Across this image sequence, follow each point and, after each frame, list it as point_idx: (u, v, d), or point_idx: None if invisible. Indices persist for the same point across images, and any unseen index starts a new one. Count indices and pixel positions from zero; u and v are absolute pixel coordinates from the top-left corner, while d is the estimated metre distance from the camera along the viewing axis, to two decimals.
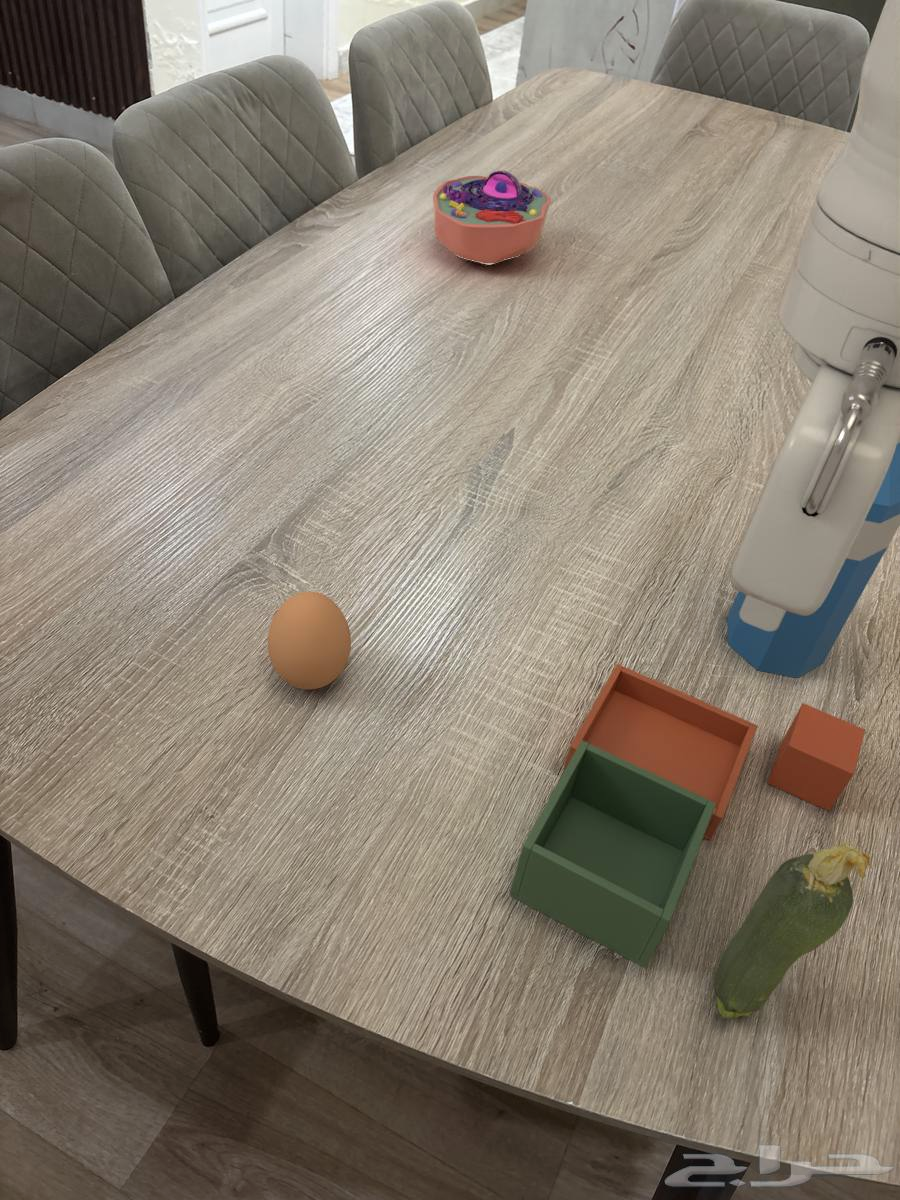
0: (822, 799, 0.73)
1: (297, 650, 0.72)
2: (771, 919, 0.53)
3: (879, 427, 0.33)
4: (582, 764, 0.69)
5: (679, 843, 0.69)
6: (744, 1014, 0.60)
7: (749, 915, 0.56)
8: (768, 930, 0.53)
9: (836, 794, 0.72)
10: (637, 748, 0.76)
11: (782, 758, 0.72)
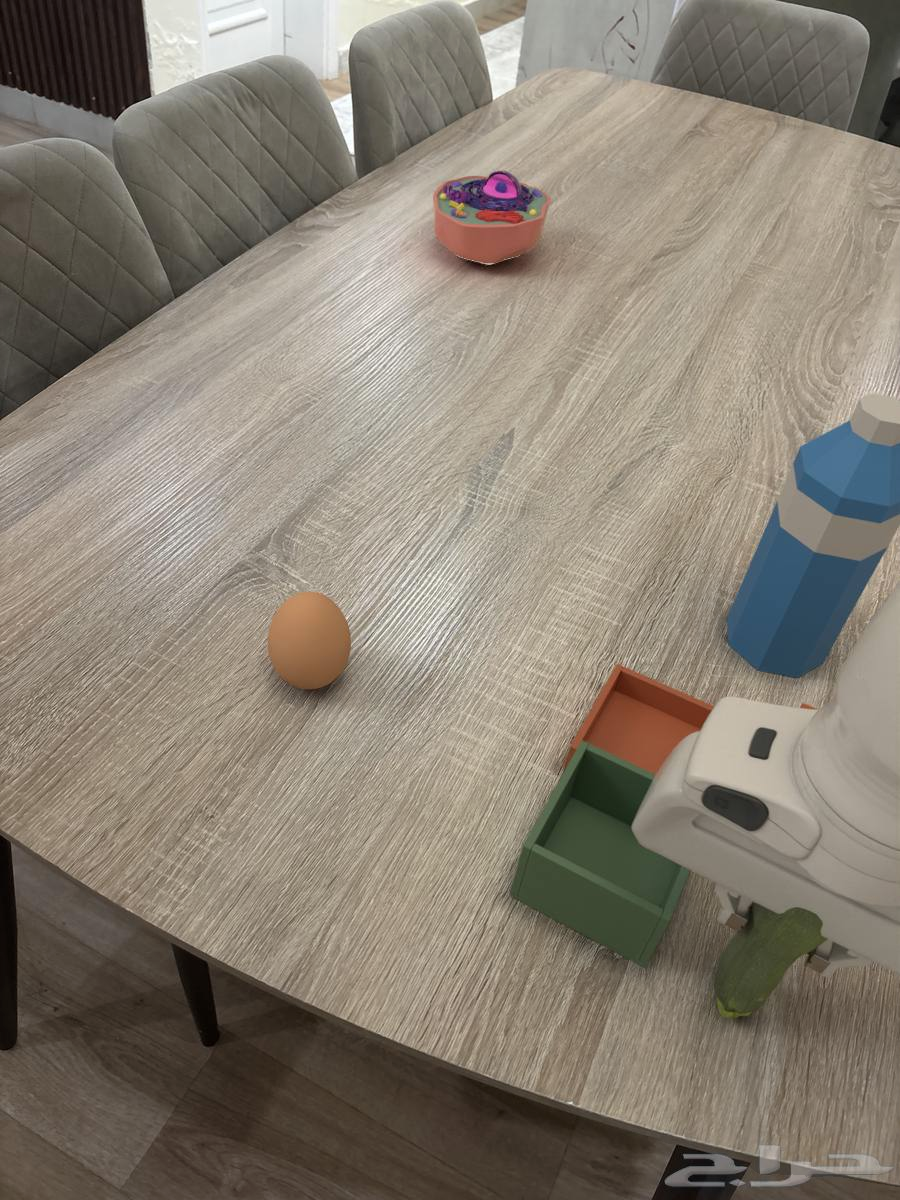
0: None
1: (297, 650, 0.72)
2: (769, 920, 0.53)
3: None
4: (582, 764, 0.69)
5: None
6: (744, 1014, 0.60)
7: None
8: (767, 930, 0.54)
9: None
10: (637, 748, 0.76)
11: None
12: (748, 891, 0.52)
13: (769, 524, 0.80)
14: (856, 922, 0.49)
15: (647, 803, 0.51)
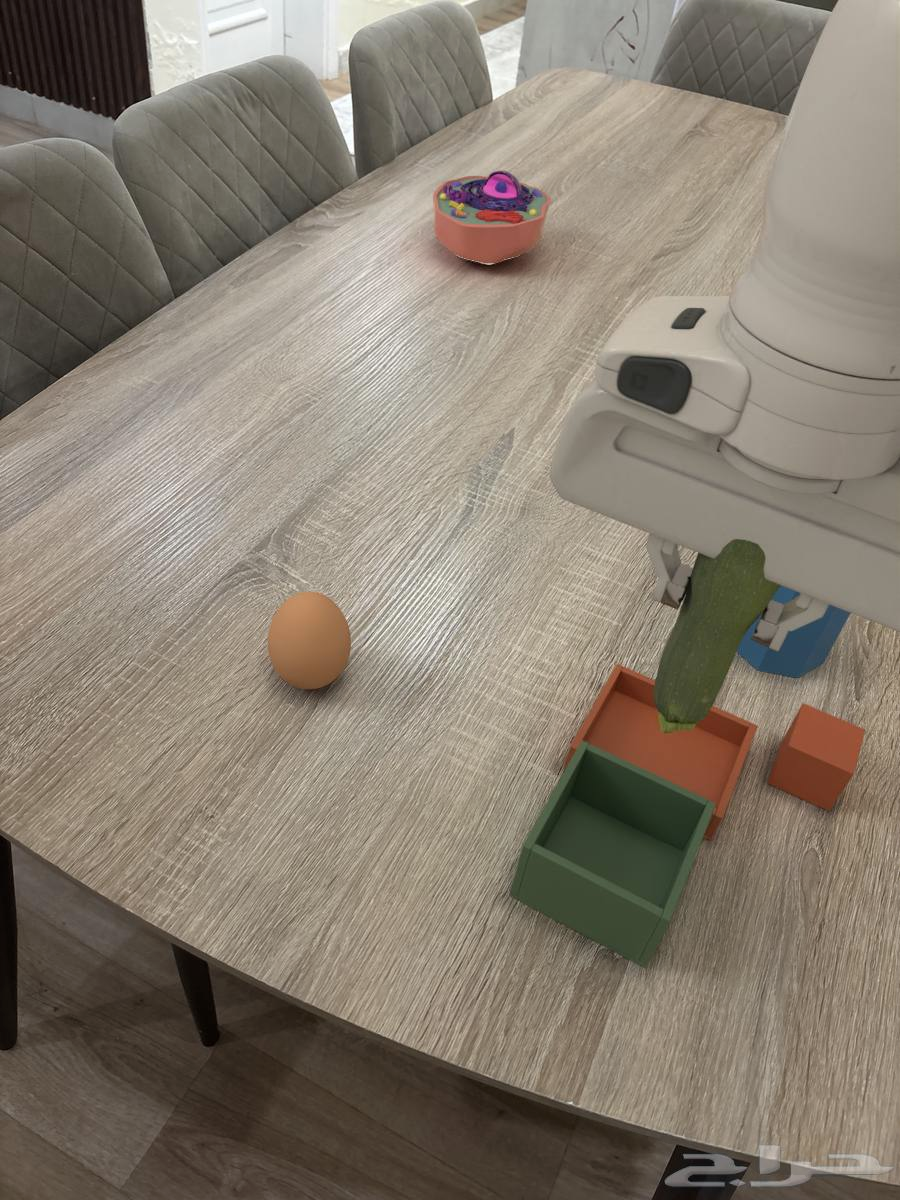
0: (822, 799, 0.73)
1: (297, 650, 0.72)
2: (706, 573, 0.46)
3: None
4: (582, 764, 0.69)
5: (679, 843, 0.69)
6: (688, 727, 0.53)
7: (687, 592, 0.49)
8: (705, 591, 0.47)
9: (836, 794, 0.72)
10: (637, 748, 0.76)
11: (782, 758, 0.72)
12: (681, 532, 0.45)
13: None
14: (803, 544, 0.42)
15: (563, 427, 0.44)
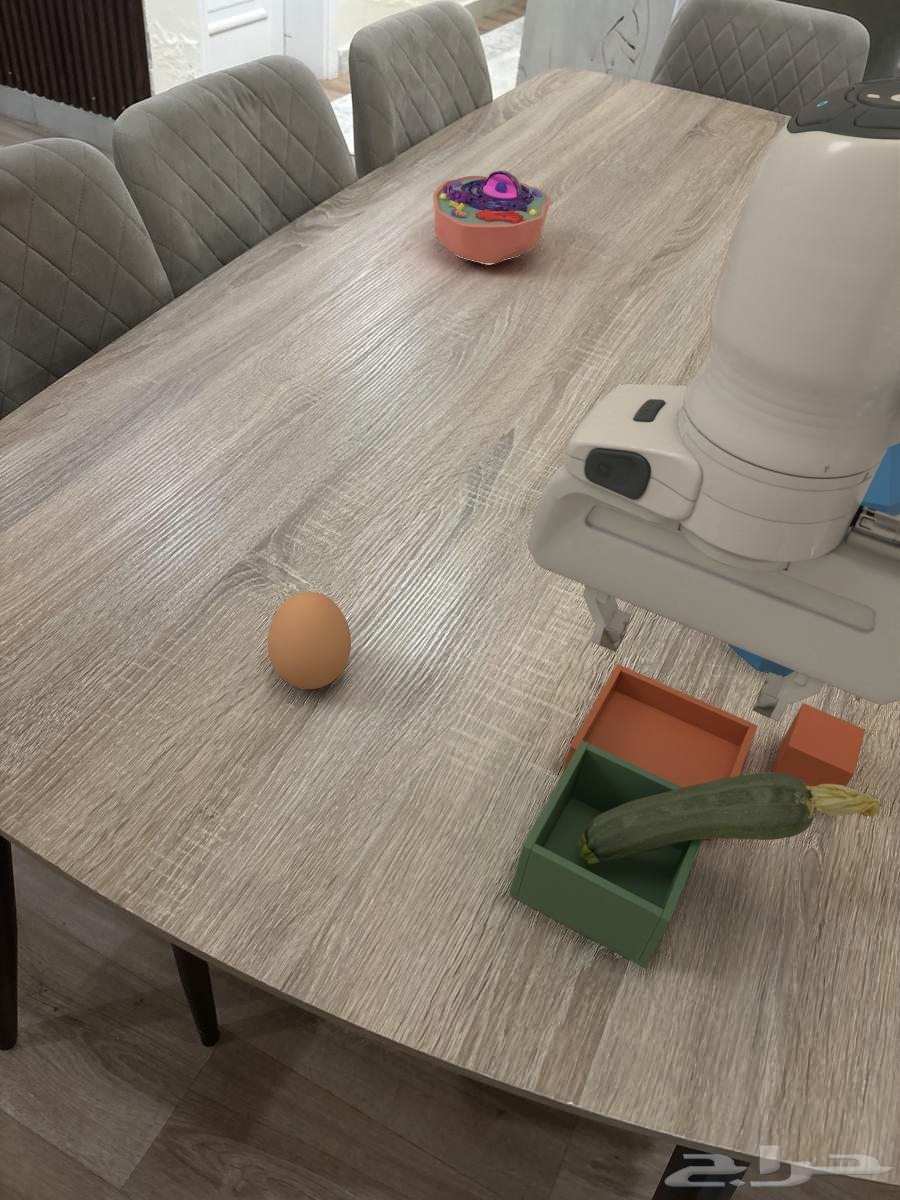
0: None
1: (297, 650, 0.72)
2: (750, 831, 0.60)
3: None
4: (582, 764, 0.69)
5: (679, 843, 0.69)
6: None
7: (698, 812, 0.61)
8: (733, 833, 0.60)
9: None
10: (637, 748, 0.76)
11: (782, 758, 0.72)
12: (649, 600, 0.48)
13: None
14: (759, 613, 0.46)
15: (538, 504, 0.48)
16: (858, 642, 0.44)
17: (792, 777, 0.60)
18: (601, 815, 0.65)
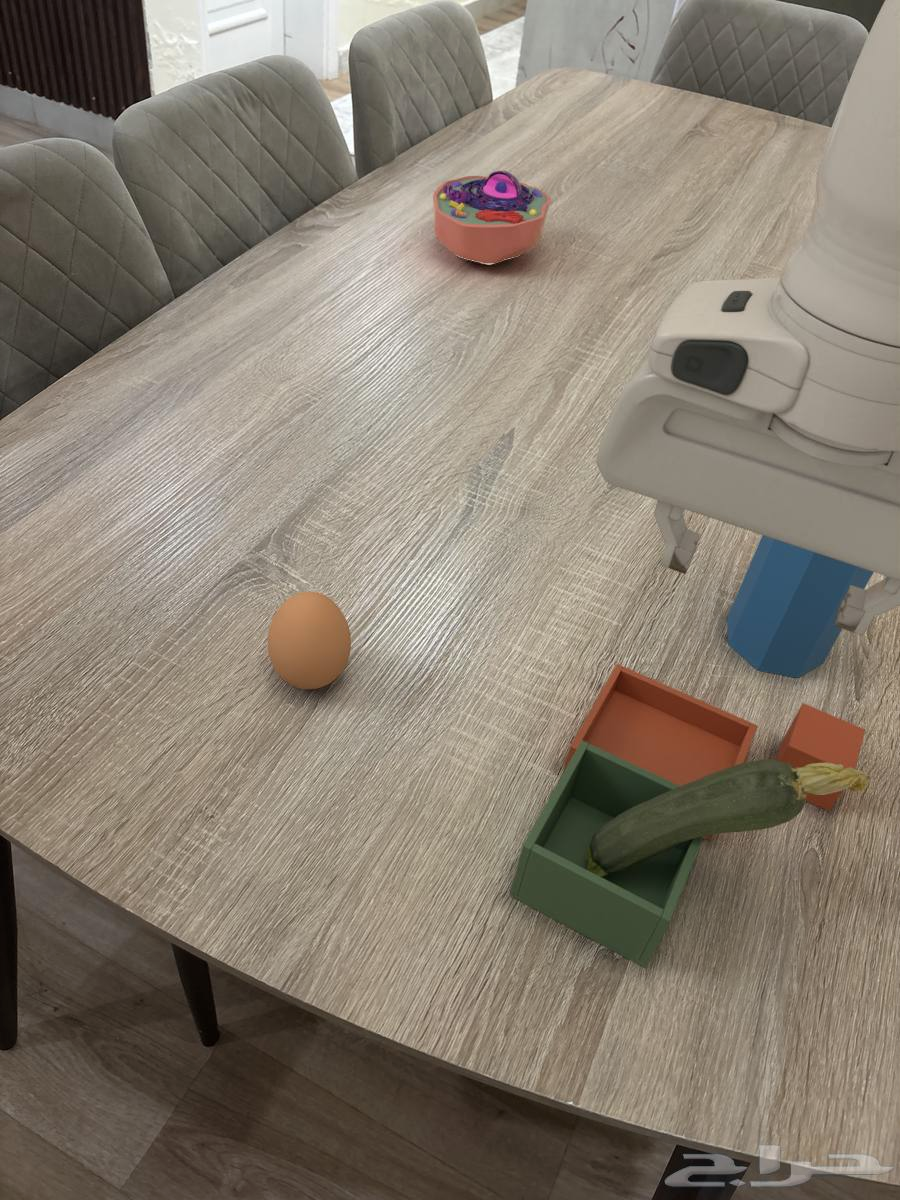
0: (822, 799, 0.73)
1: (297, 650, 0.72)
2: (742, 820, 0.60)
3: None
4: (582, 764, 0.69)
5: None
6: None
7: (689, 808, 0.61)
8: (727, 825, 0.60)
9: (836, 794, 0.72)
10: (637, 748, 0.76)
11: (782, 758, 0.72)
12: (731, 510, 0.46)
13: None
14: (853, 516, 0.43)
15: (611, 413, 0.45)
16: None
17: (777, 761, 0.60)
18: (602, 827, 0.66)
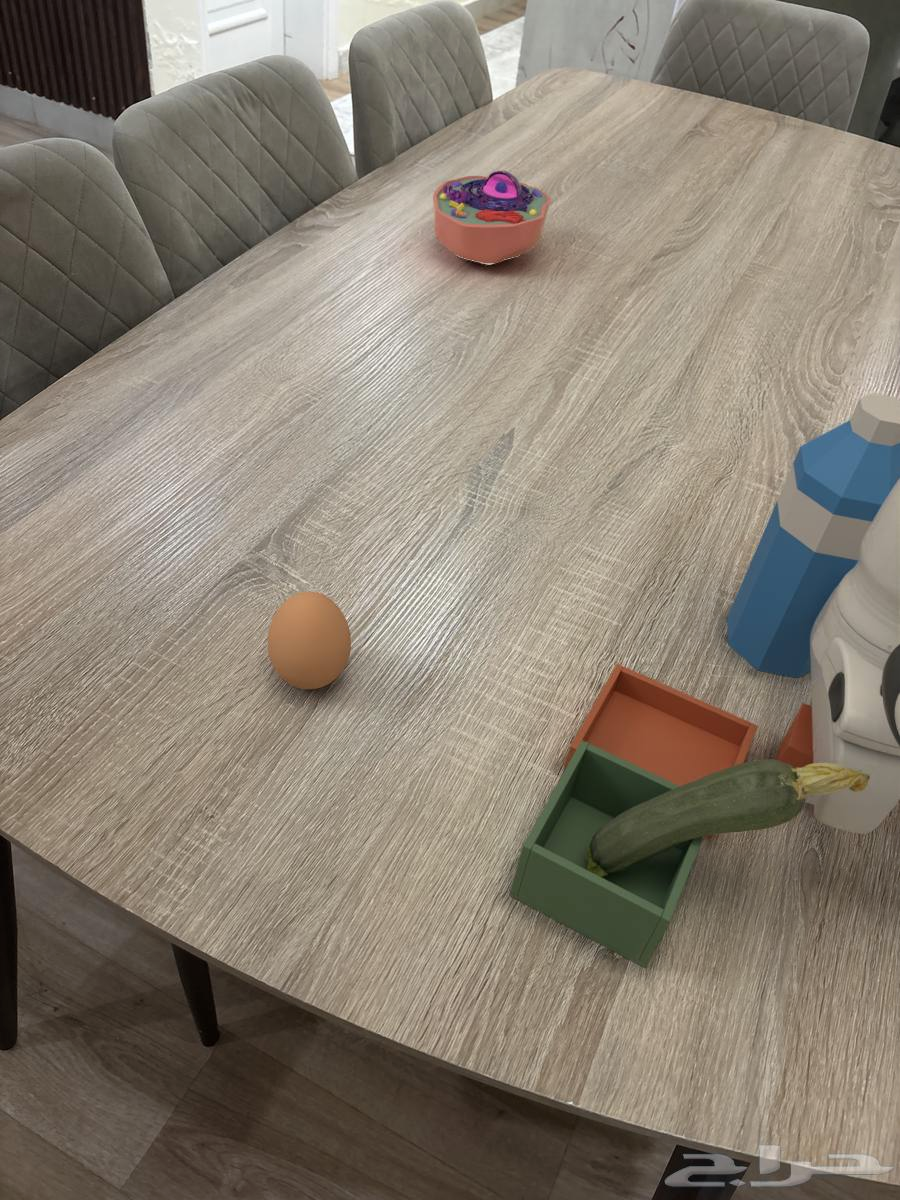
0: None
1: (297, 650, 0.72)
2: (742, 820, 0.60)
3: None
4: (582, 764, 0.69)
5: None
6: None
7: (689, 808, 0.61)
8: (727, 825, 0.60)
9: None
10: (637, 748, 0.76)
11: (782, 758, 0.73)
12: None
13: (769, 524, 0.80)
14: None
15: (893, 804, 0.61)
16: None
17: (777, 761, 0.60)
18: (602, 827, 0.66)
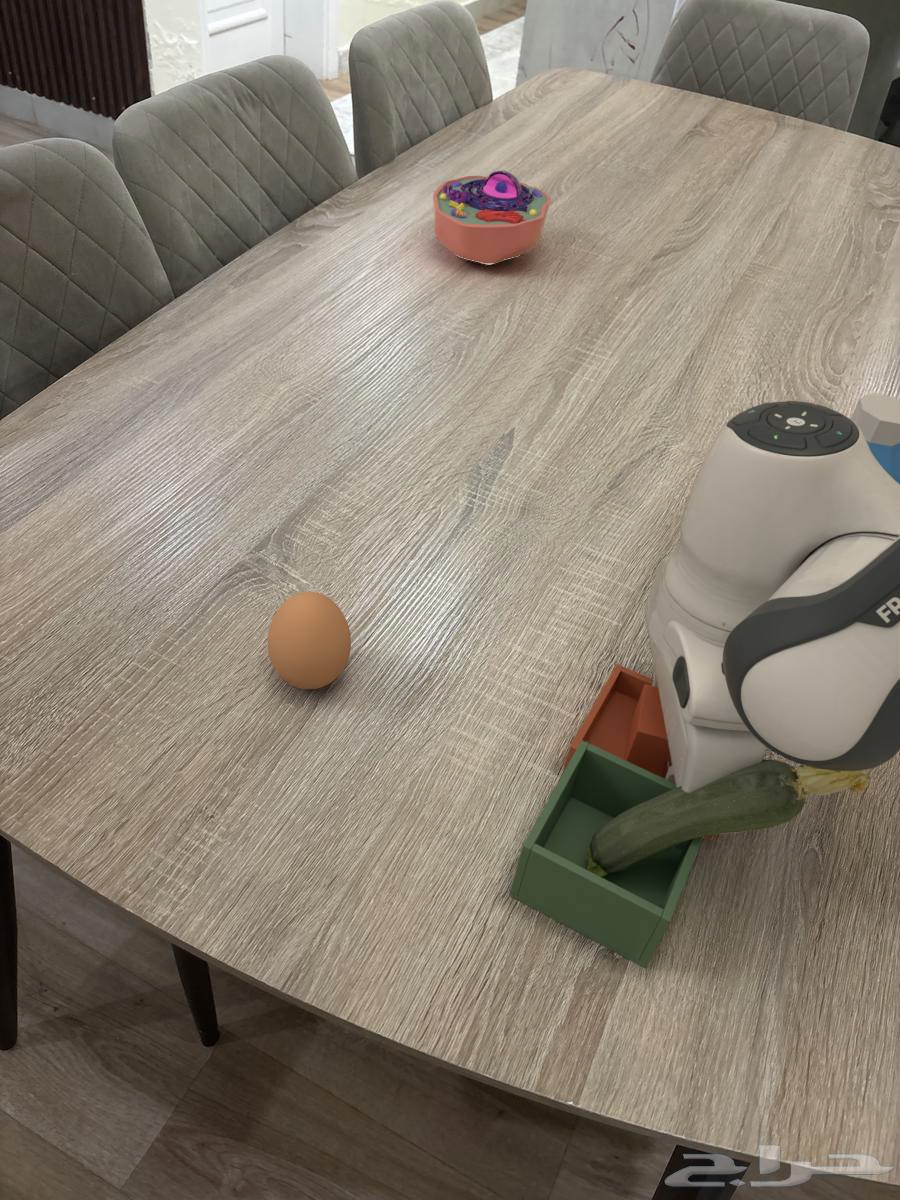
0: None
1: (297, 650, 0.72)
2: (742, 820, 0.60)
3: None
4: (582, 764, 0.69)
5: None
6: None
7: (689, 809, 0.61)
8: (727, 825, 0.60)
9: None
10: None
11: (633, 744, 0.71)
12: None
13: None
14: None
15: None
16: None
17: (777, 761, 0.60)
18: (602, 827, 0.66)
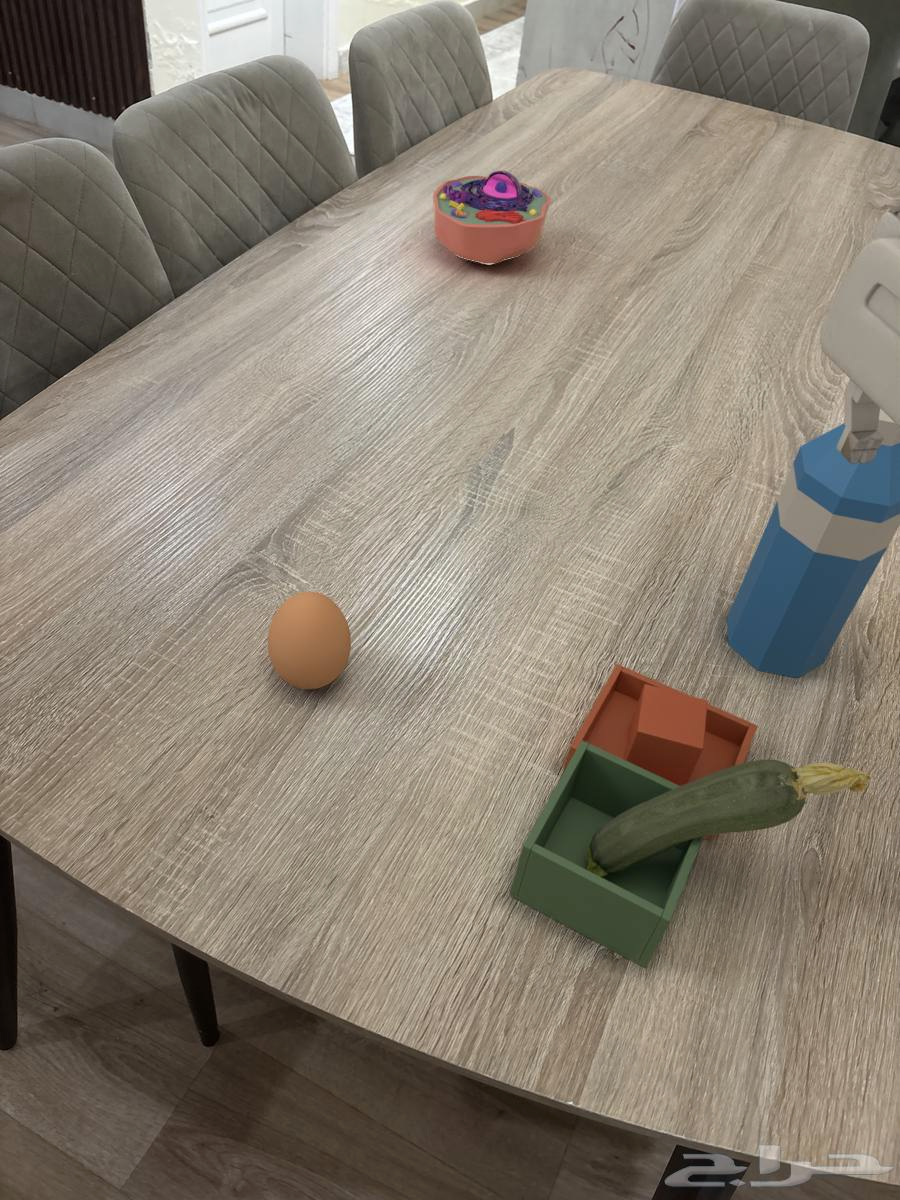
0: (677, 777, 0.73)
1: (297, 650, 0.72)
2: (742, 820, 0.60)
3: None
4: (582, 764, 0.69)
5: None
6: None
7: (689, 809, 0.61)
8: (727, 825, 0.60)
9: (689, 770, 0.72)
10: None
11: (633, 744, 0.71)
12: None
13: (769, 524, 0.80)
14: None
15: None
16: None
17: (777, 761, 0.60)
18: (602, 827, 0.66)
